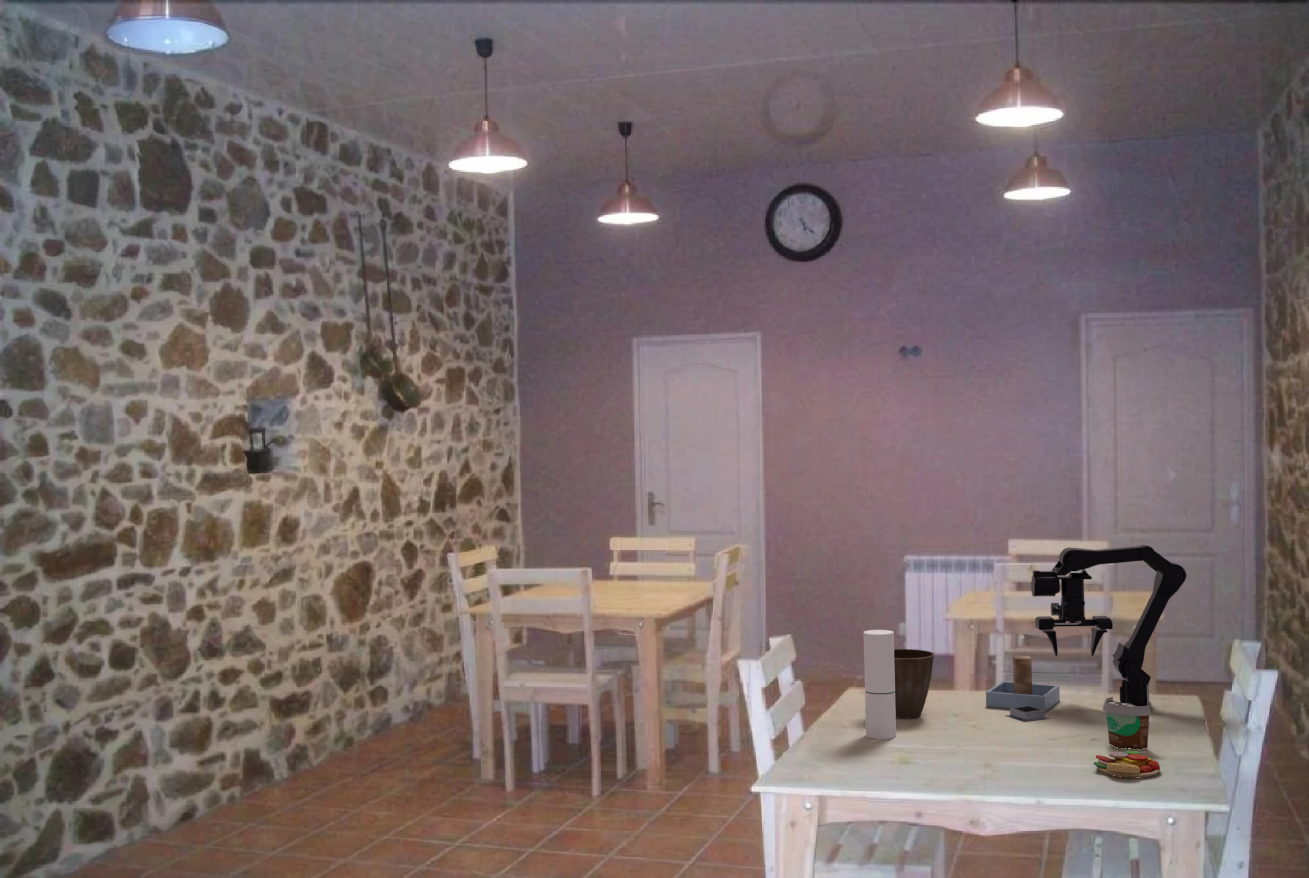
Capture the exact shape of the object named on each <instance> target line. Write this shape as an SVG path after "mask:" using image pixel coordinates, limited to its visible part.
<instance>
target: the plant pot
mask: <svg viewBox="0 0 1309 878" xmlns="http://www.w3.org/2000/svg"><path fill="white" fill-rule="evenodd" d="M934 656H935V653H934V652H932V651H928V650H923V649H912V648H911V649H910V648H897V649H895V648H894V670H895V710H896V719H905V718H908V719H917V718H919V717H921V716H922V714H923V710H924V707H925V704H926V700H927V696H928V693H929V688H930V684H931V679H932V675H933V674H932V673H933V668H934V667H933V665H934Z"/></svg>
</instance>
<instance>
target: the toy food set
mask: <svg viewBox="0 0 1309 878" xmlns="http://www.w3.org/2000/svg"><path fill="white" fill-rule="evenodd" d="M1108 756H1109V757H1108ZM1108 756H1103V755H1100V754H1099V755H1098V754H1096V755H1095V759H1097V761H1094V762H1093V765H1094V766H1096V768H1097V769H1098V770H1099V771H1100V772H1101V773H1102V772H1103V773H1102V774H1104V773H1106V774H1105V775H1107V774H1109V775H1108V776H1110V775H1115V776H1121V777H1132V778H1131V779H1137V778H1136V777H1148V776H1152V775H1155V776H1156V775H1157V774H1159V773H1160V772H1161V766H1160V763H1159V762H1158V761H1157V760H1154V759H1153V758H1151V757H1148V756H1146V755H1143V754H1142V752H1141V751H1140V750H1128V749H1126V750H1124V751H1110V752H1108ZM1115 776H1114V777H1115ZM1121 777H1120V778H1121ZM1152 777H1153V776H1152ZM1148 778H1149V777H1148Z"/></svg>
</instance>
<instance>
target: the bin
mask: <svg viewBox="0 0 1309 878" xmlns="http://www.w3.org/2000/svg"><path fill="white" fill-rule="evenodd" d="M1060 696H1061V695H1060V685H1053V684H1052V685H1051V684H1044V683H1043V684H1040V683H1032V695H1025V694H1014V681H1001V682H999V683H997V684H996V685H995V686H992V687H991V688H990V689H988V690H987V691H985V702H986V703H985V705H986V706H985V707H986V708H992V709H993V708H994V709H1003V710H1004V709H1005V710H1010V708H1015V707H1023V706H1033V707H1036V708H1039V709H1043V710H1045V713H1046V712H1047V711H1049V710H1050V709H1051V708H1053V707H1054V706H1055V705H1057V703H1059V702H1060V700H1061V698H1060Z"/></svg>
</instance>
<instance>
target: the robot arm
mask: <svg viewBox="0 0 1309 878" xmlns="http://www.w3.org/2000/svg"><path fill="white" fill-rule="evenodd" d="M1130 562H1131V563H1132V562H1133V563H1134V562H1144V563H1145V564H1146V565H1147V566H1149V568H1151V569H1152V570H1153V571H1154V572H1155V576H1154V581H1153V588H1152V593H1151V594H1150V597H1149V598H1148V601H1147V603H1146V605H1145V606H1144V609H1143V611H1142V613H1141V616H1140V617H1139V620H1138V622H1137V623H1136V625H1135V628H1134V630H1133V632H1132V634H1131V636H1130V638H1129V639H1128V640H1127V642H1126V643H1124V644H1122V643H1121V642H1118V644H1117V647H1116V650H1115V652H1114V653H1113V654H1112V655H1111V656H1112V657H1113V659H1112V665H1113V668H1114V669H1115V671H1116V672H1117V673H1118V674H1120V676H1121V678H1122V679H1123V680H1122V681H1121V685H1120V687H1119V702H1120V703H1130V704H1133V705H1135V706H1150V705H1151V703H1152V702H1151V701H1150V681H1151V677H1152V676H1150V675H1149V674H1148V673H1147V672H1146V671H1144V669H1143V666H1144V665H1143V664H1144V661H1145V654H1146V648H1147V645H1148V644H1149V641H1150V639H1151V637H1152V635H1153V633H1154V631H1155V629H1156V627H1157V625H1158V622H1159V621H1160V620H1161V619H1160V618H1161V616H1162V615H1163V613H1164V610H1165V609H1166V607H1167V605H1168V602H1169V601H1170V599H1171V598H1172V597H1173V596H1174V595H1175V594H1176V593H1177V592H1178V591H1179V590H1180V588H1181V587H1182V586H1183V585H1184V583H1185V581H1186V580H1187V572H1186V570H1185V568H1184V567H1183V566H1182V565H1180V564H1178V563H1175V562H1172V561H1169V560H1168V559H1166V558H1165V557H1163V556H1162V555H1161V554H1160V553H1158V552H1157V551H1156V550H1154V548H1153V547H1152V546H1150V545H1147V544H1140V545H1134V546H1123V547H1112V548H1101V549H1100V548H1099V549H1089V548H1082V547H1080V548H1079V547H1065V548H1064V549H1062V550H1061V552H1060V553H1059V556H1058V561H1057V562H1056V563H1055V564H1054V567H1053V568H1052V569H1051V570H1036V569H1035V570H1032V577H1031V581H1030V590H1031V595H1032V597H1035V598H1037V597H1056V596H1057V595H1056V594H1059V593H1061V598H1060V600H1061V601H1060V604H1059V602H1051V603H1050V614H1051V616H1050V615H1049V616H1044V615H1043V616H1036V617H1035V618H1034V619H1035V620H1034V627H1035V628H1036V629H1038V630H1040V631H1041V632H1042V633H1044V634H1045V635H1046V636H1047V638H1048V640H1049V642H1050V645H1051V648H1052V651H1053V653H1054V656H1055V657H1057V656H1058V652H1059V651H1058V641H1057V631H1056V630H1055V629H1054V628H1055V627H1056V628H1059V627H1091V629H1090V630H1091V637H1090V638H1091V639H1090V640H1091V641H1090V655H1091V657H1094V655H1095V653H1096V651H1097V648H1098V645H1099V643H1100V640H1101V639H1102V637H1103V635H1104V634H1105V633H1106V634H1107V633H1108V630H1113V626H1114V625H1113V619H1111V618H1110V617H1108V616H1107V615H1092V618H1087V619H1086V615H1085V612H1086V611H1085V607H1086V602H1085V580H1092V579H1093V577H1092V576H1091V575H1090V574H1089V573H1088V571H1087V569H1090V568H1092V567H1095V566H1099V565H1100V566H1101V565H1109V564H1120V563H1121V564H1122V563H1130ZM1060 589H1061V590H1060ZM1052 616H1055V617H1056V616H1057V617H1058V619H1055V618H1053V617H1052Z"/></svg>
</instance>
